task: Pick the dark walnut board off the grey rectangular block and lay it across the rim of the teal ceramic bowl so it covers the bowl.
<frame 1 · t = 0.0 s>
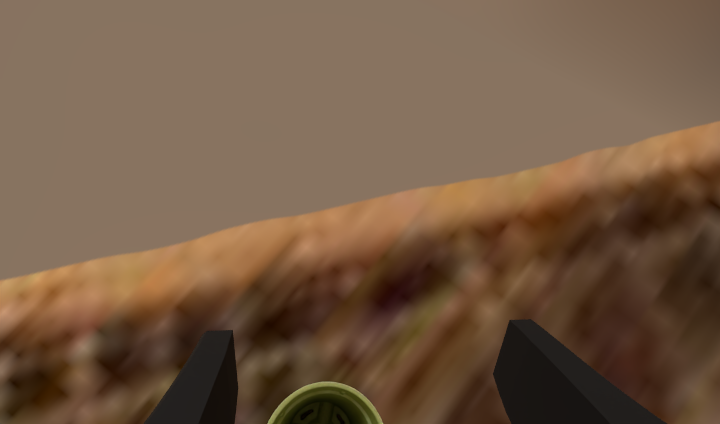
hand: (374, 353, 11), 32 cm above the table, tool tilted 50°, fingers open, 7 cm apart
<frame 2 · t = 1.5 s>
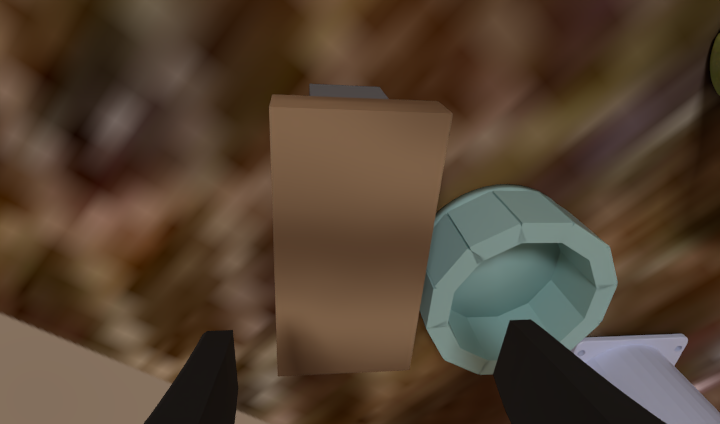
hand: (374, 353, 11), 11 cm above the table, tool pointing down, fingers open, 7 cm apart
walnut board: (348, 240, 16), point 4 cm above the table, touching grey rectangular block
bowl: (489, 258, 23), on the table
grey rectangular block: (339, 191, 20), on the table
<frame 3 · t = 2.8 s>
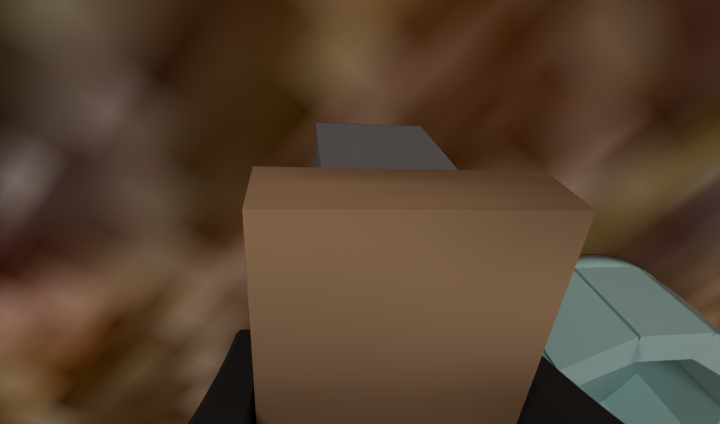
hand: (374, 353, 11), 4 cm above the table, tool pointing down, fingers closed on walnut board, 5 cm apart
walnut board: (379, 378, 10), point 4 cm above the table, touching gripper, grey rectangular block
bowl: (555, 345, 17), on the table
grey rectangular block: (357, 269, 14), on the table
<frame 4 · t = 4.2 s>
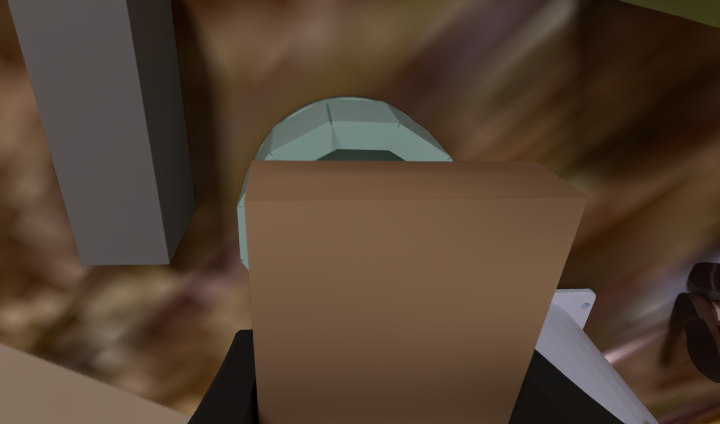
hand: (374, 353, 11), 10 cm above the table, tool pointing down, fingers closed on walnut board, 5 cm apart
walnut board: (377, 369, 10), point 11 cm above the table, touching gripper
bowl: (346, 190, 20), on the table
grey rectangular block: (143, 98, 17), on the table
when the fingers open (5 cm above the table, at t = 5.9 s): walnut board drops 1 cm, resting on bowl.
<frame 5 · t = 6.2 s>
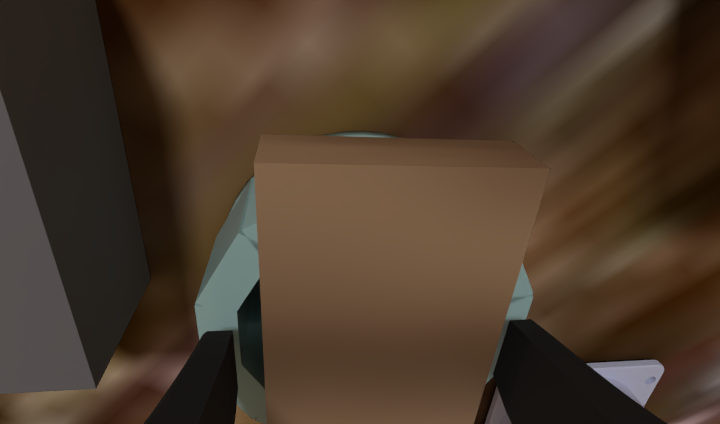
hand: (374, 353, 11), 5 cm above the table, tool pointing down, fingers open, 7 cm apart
walnut board: (371, 331, 12), point 4 cm above the table, touching bowl
bowl: (353, 253, 15), on the table
grey rectangular block: (66, 138, 12), on the table
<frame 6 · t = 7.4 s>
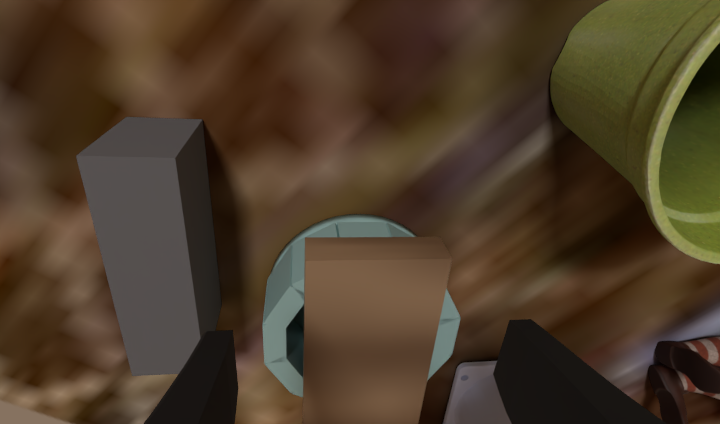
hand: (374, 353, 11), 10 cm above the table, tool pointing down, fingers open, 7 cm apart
walnut board: (363, 338, 20), point 4 cm above the table, touching bowl
plant pot: (609, 67, 19), on the table
bowl: (353, 286, 23), on the table
grey rectangular block: (180, 222, 20), on the table
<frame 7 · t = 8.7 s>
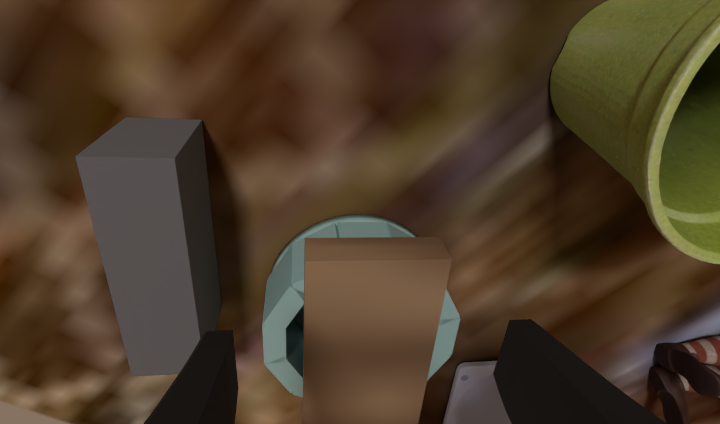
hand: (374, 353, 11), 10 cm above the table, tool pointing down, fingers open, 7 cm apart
walnut board: (363, 339, 20), point 4 cm above the table, touching bowl
plant pot: (609, 67, 19), on the table
bowl: (353, 286, 23), on the table
grey rectangular block: (179, 223, 20), on the table
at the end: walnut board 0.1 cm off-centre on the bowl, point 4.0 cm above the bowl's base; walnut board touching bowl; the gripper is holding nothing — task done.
